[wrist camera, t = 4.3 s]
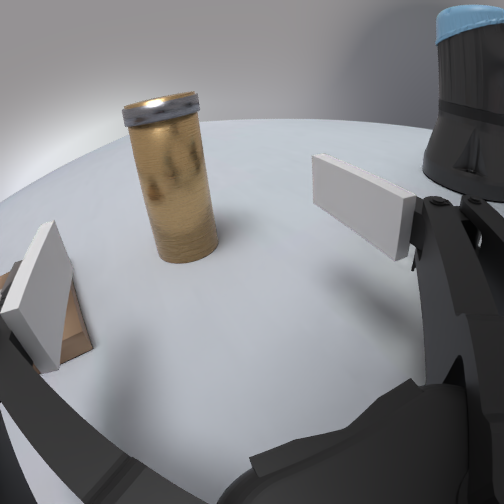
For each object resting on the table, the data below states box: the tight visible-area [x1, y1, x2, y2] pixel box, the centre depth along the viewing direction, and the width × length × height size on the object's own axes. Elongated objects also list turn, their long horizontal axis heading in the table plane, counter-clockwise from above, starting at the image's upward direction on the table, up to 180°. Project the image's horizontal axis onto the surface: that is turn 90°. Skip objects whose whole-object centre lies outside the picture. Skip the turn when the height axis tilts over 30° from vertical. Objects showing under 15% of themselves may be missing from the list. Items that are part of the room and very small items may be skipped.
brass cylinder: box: [122, 91, 218, 263], centre depth 23 cm, size 5×5×12 cm
